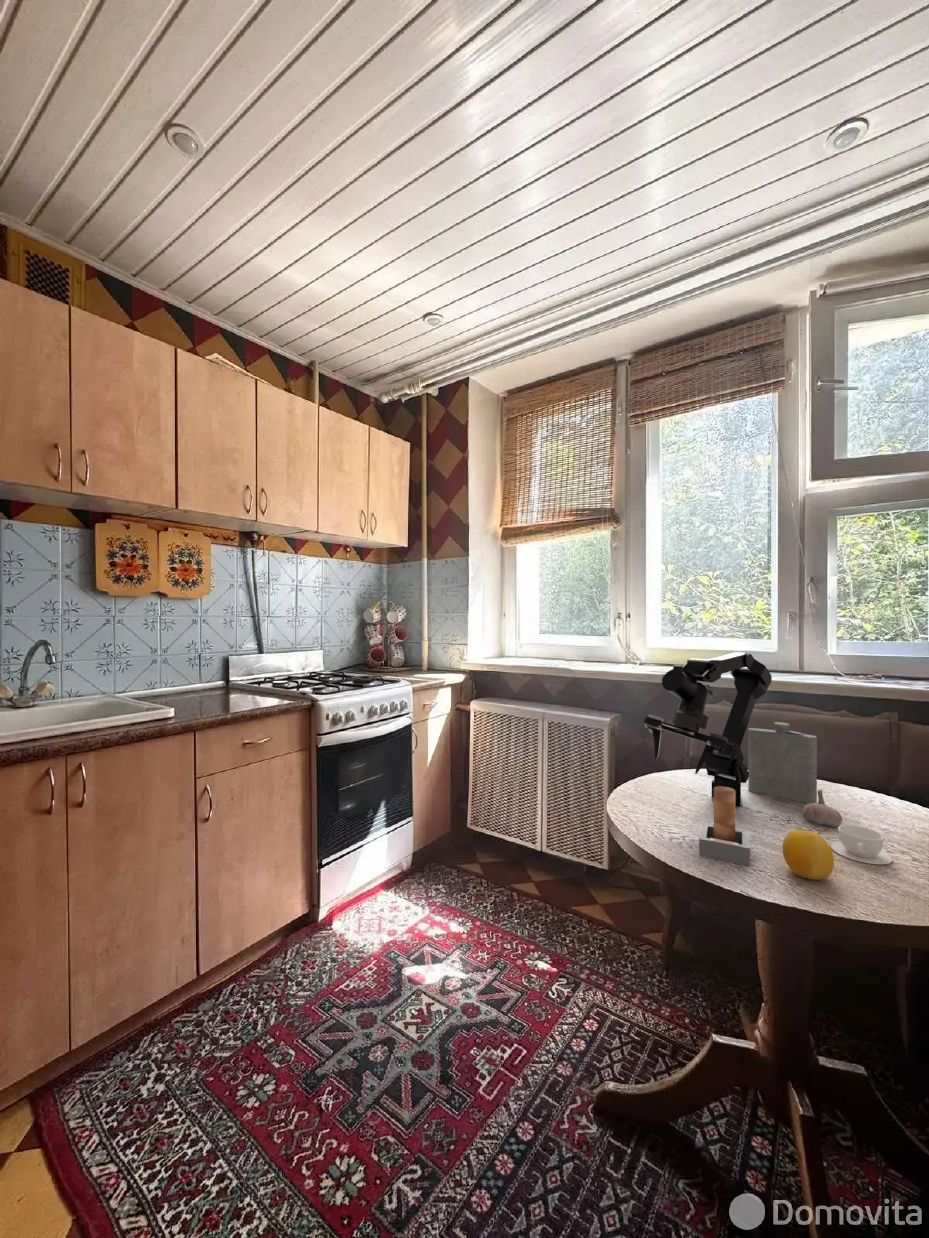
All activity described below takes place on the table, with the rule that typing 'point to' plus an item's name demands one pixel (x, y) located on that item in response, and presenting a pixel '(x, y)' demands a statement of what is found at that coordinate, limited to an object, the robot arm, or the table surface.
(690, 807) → the table surface
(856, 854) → the teacup
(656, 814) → the table surface
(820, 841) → the fruit
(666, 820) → the table surface
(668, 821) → the table surface
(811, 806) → the garlic bulb
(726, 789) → the peg
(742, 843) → the socket block
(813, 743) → the hip flask
